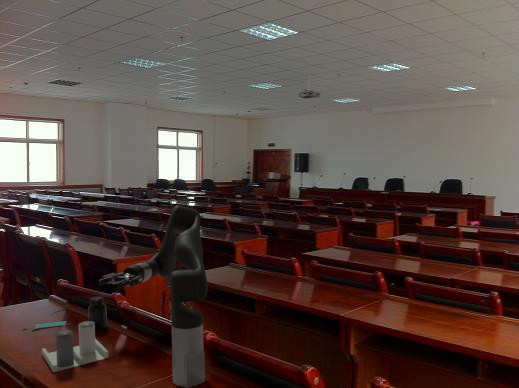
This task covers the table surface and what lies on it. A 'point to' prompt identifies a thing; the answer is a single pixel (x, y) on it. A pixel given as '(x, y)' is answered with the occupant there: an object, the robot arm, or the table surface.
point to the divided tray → (76, 357)
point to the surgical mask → (51, 324)
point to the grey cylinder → (64, 348)
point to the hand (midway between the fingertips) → (108, 284)
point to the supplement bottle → (98, 313)
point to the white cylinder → (87, 338)
